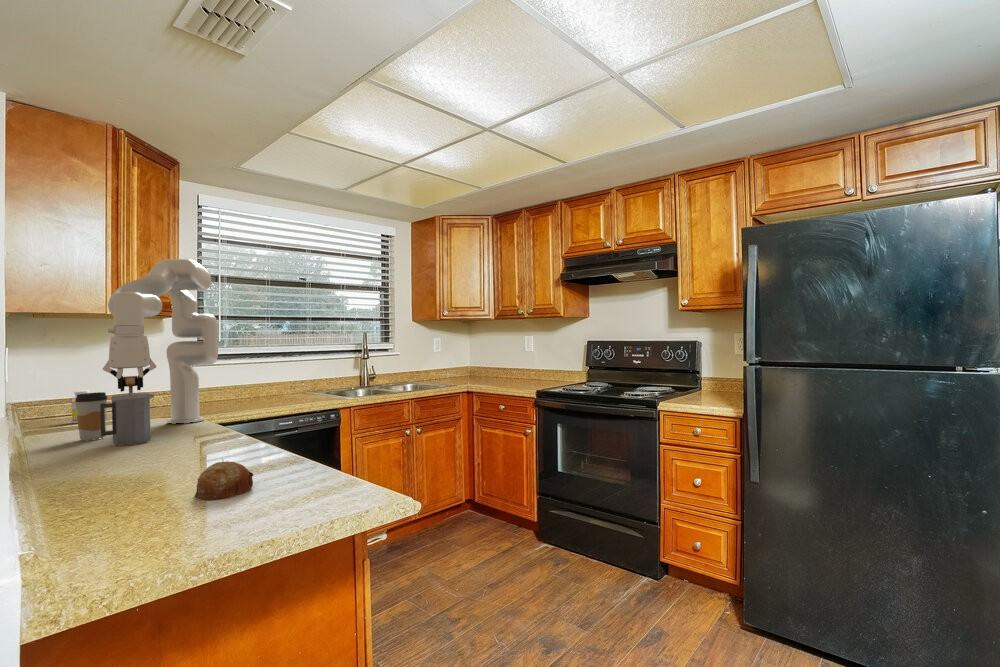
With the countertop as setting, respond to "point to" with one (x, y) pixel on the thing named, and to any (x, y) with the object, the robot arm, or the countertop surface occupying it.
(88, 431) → the coffee cup
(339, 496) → the countertop surface
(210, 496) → the bread roll
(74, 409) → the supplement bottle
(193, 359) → the robot arm
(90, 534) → the countertop surface
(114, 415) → the french press
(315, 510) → the countertop surface
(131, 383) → the plunger
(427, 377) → the countertop surface
